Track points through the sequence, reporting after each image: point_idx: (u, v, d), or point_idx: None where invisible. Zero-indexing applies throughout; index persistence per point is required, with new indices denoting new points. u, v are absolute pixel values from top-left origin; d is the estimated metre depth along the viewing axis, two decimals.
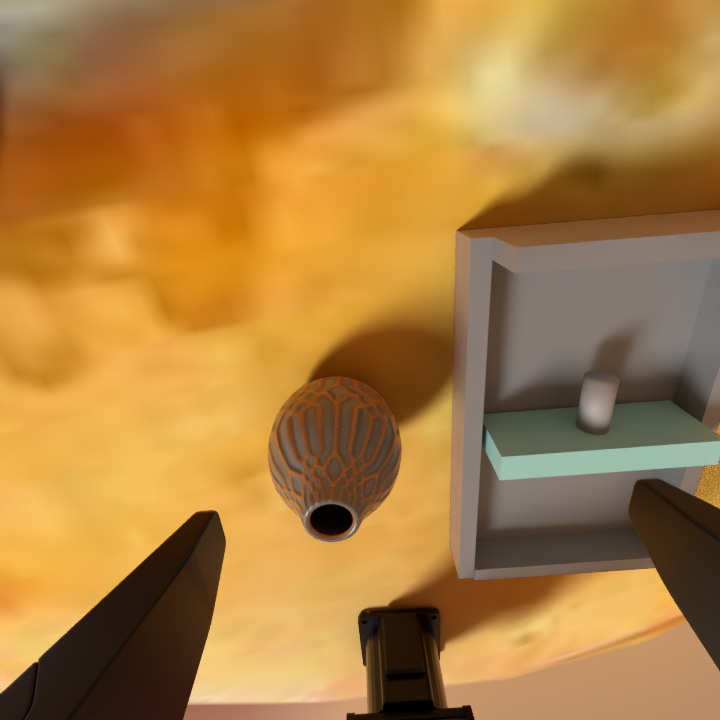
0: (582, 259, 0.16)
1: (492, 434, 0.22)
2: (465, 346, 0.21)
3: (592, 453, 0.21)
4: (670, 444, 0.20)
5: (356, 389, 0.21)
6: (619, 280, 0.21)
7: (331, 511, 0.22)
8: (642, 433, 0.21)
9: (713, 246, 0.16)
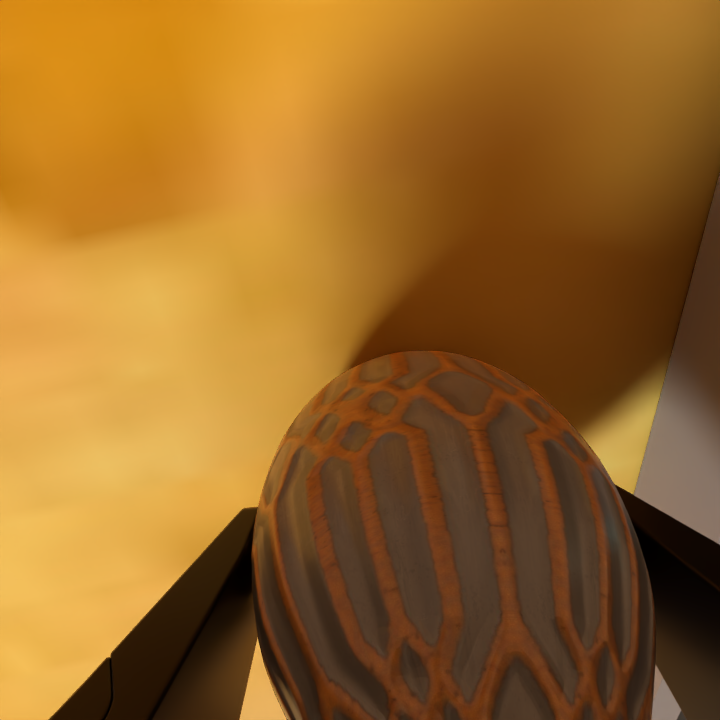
0: None
1: None
2: None
3: None
4: None
5: (502, 380, 0.07)
6: None
7: None
8: None
9: None
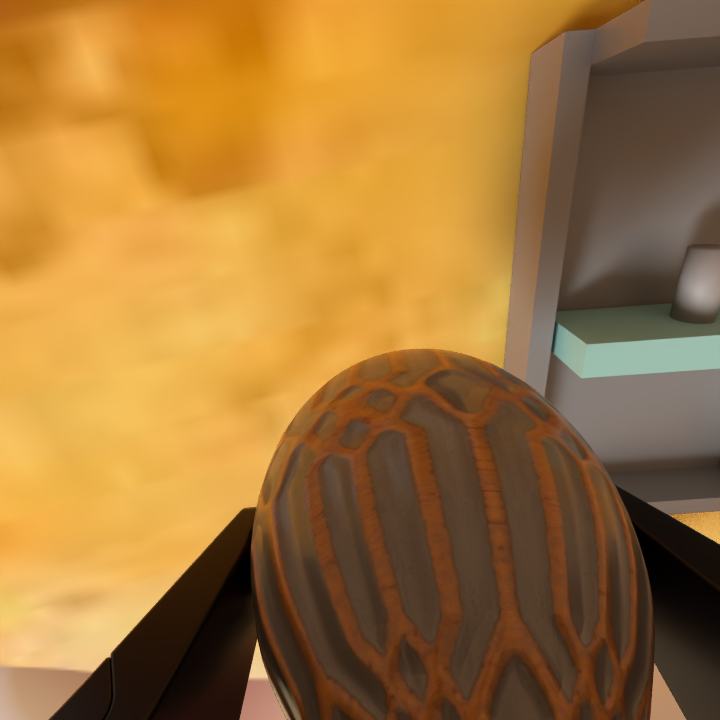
0: None
1: (567, 326, 0.18)
2: (542, 202, 0.16)
3: (703, 340, 0.16)
4: None
5: (501, 378, 0.07)
6: None
7: None
8: None
9: None
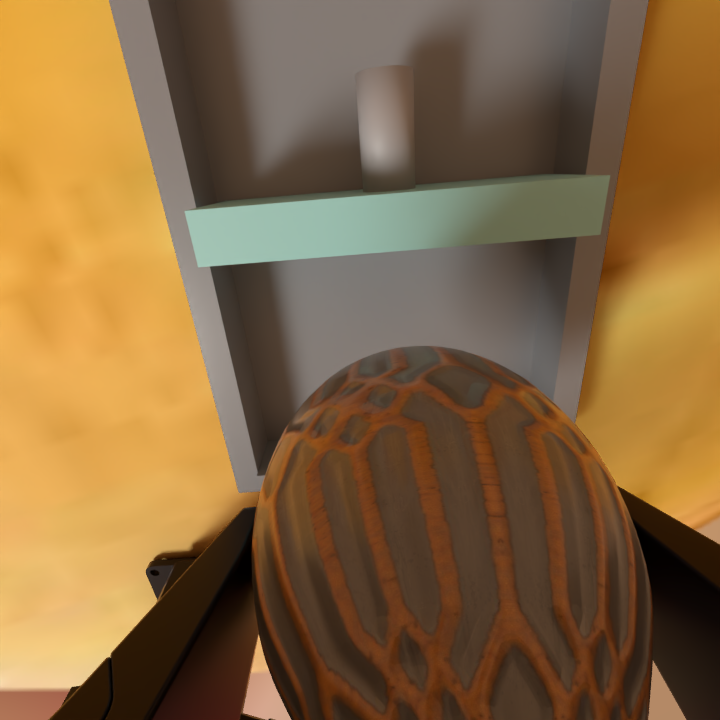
0: None
1: (213, 204, 0.13)
2: None
3: (357, 204, 0.11)
4: (504, 183, 0.11)
5: (501, 374, 0.07)
6: None
7: None
8: (466, 185, 0.12)
9: None
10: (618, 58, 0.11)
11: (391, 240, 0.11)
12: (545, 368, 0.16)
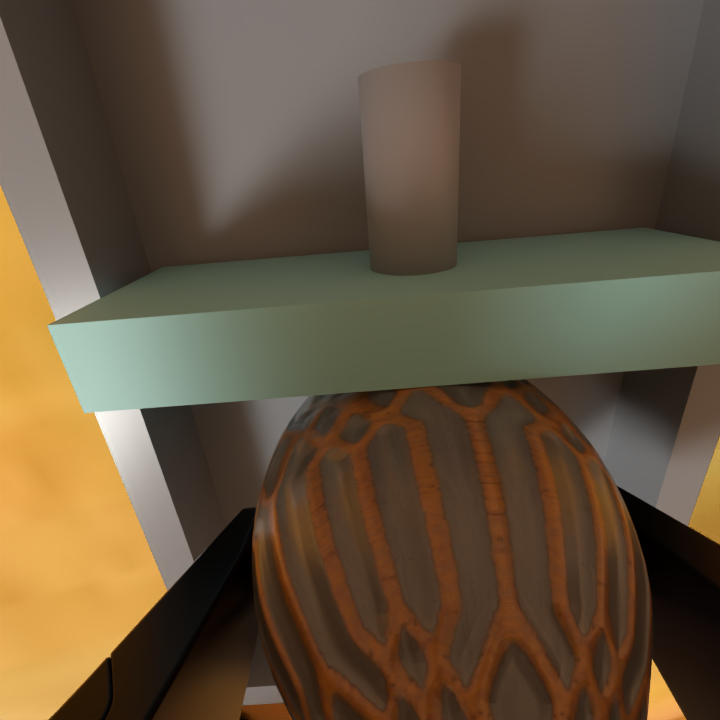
0: None
1: (125, 289, 0.08)
2: None
3: (362, 312, 0.06)
4: (633, 278, 0.06)
5: None
6: None
7: None
8: (547, 267, 0.07)
9: None
10: None
11: (422, 370, 0.06)
12: None
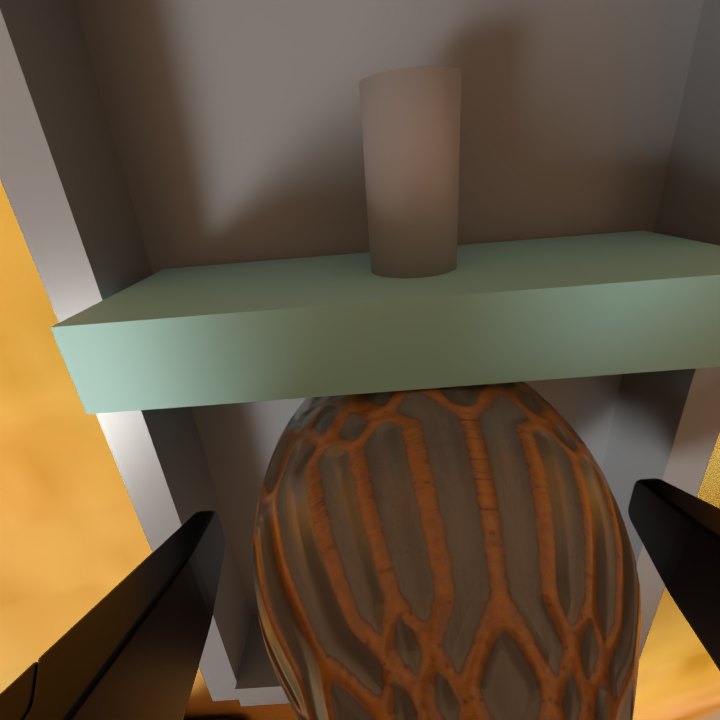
0: None
1: (127, 291, 0.08)
2: None
3: (362, 315, 0.06)
4: (631, 280, 0.06)
5: None
6: None
7: None
8: (547, 270, 0.07)
9: None
10: None
11: (422, 372, 0.06)
12: None
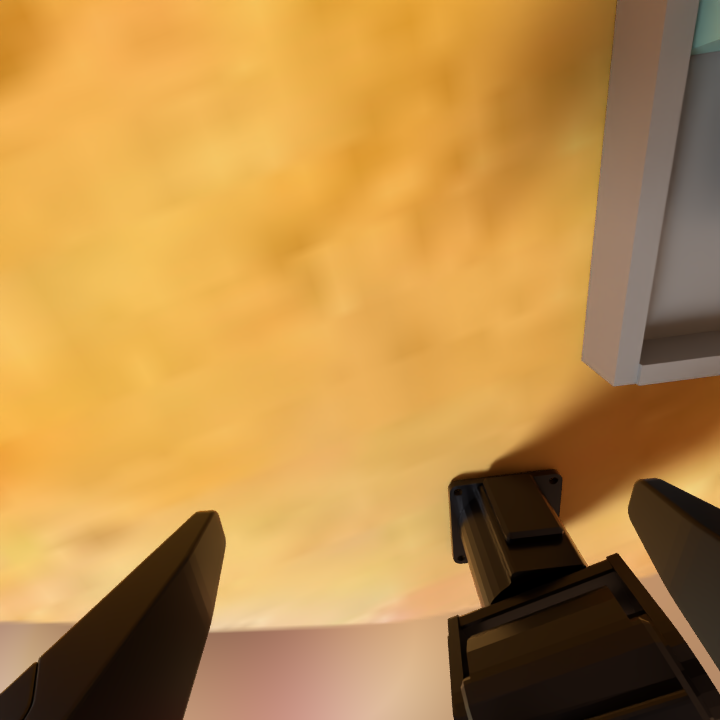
0: None
1: None
2: None
3: None
4: None
5: None
6: None
7: None
8: None
9: None
10: None
11: None
12: None
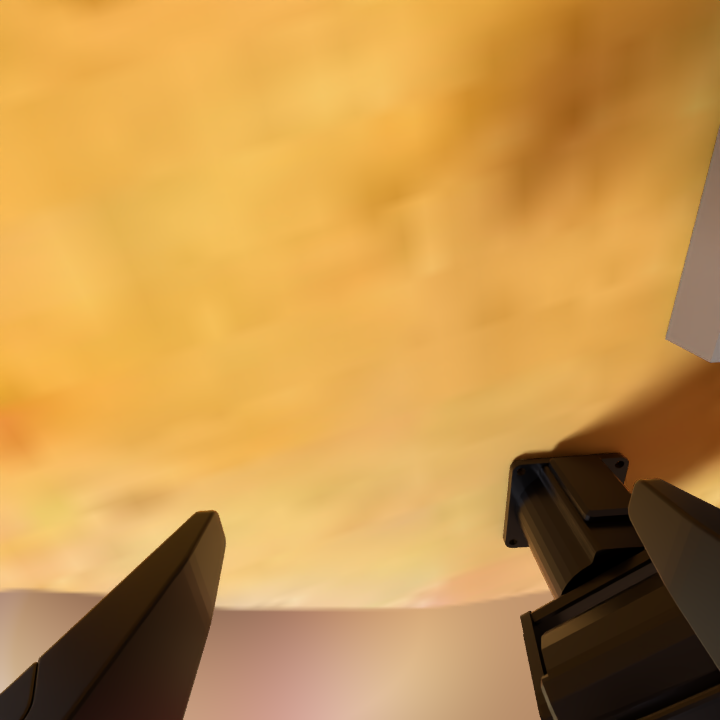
0: None
1: None
2: None
3: None
4: None
5: None
6: None
7: None
8: None
9: None
10: None
11: None
12: None
